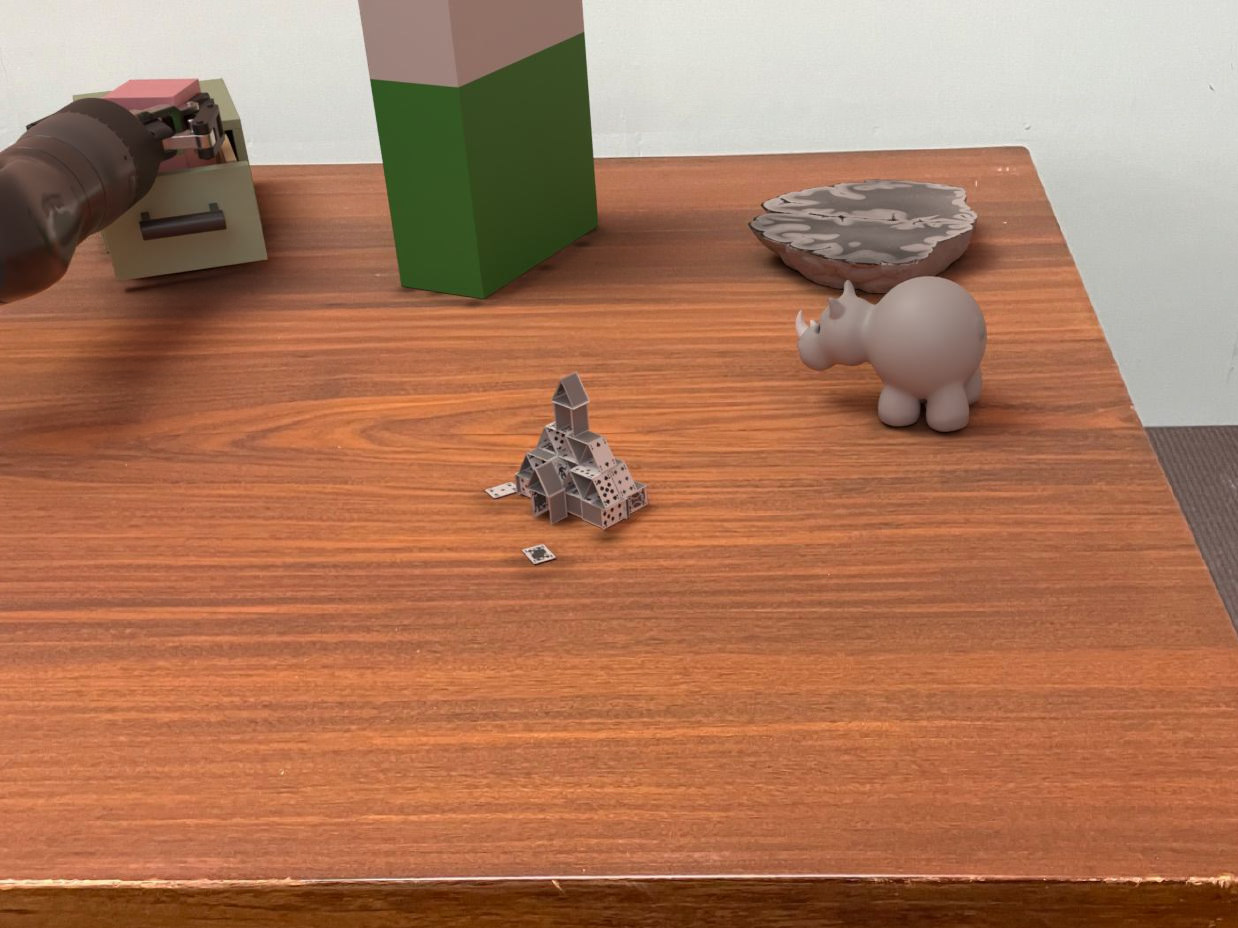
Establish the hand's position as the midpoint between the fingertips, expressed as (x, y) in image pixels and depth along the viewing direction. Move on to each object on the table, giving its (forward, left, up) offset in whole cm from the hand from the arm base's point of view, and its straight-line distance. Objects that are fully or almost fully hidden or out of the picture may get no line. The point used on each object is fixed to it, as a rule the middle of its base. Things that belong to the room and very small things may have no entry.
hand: (168, 106), depth 118 cm
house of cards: (+43, -38, -11) cm, 58 cm away
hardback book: (+26, +2, -11) cm, 28 cm away
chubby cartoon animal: (+60, -21, -11) cm, 64 cm away
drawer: (+1, -4, -10) cm, 11 cm away
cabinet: (-6, +7, -11) cm, 14 cm away
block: (0, -2, -6) cm, 7 cm away
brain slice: (+54, +6, -11) cm, 55 cm away
